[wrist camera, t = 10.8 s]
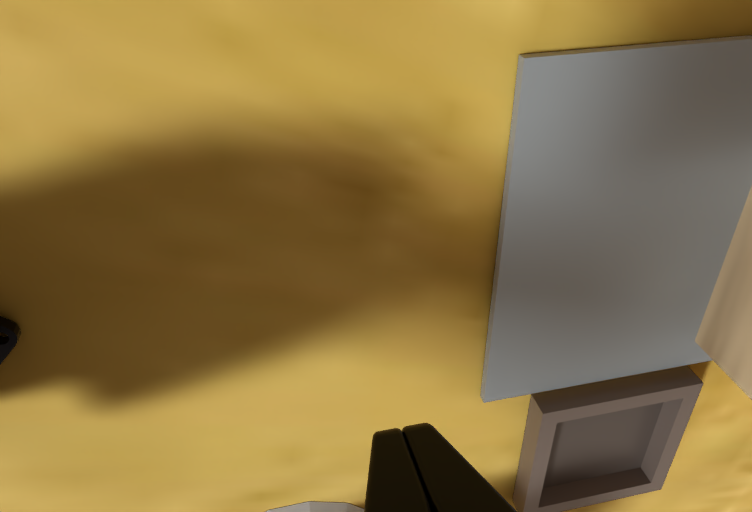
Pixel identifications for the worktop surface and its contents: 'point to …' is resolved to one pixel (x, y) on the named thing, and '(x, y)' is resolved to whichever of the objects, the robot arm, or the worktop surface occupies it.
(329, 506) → the french press
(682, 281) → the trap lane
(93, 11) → the worktop surface
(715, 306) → the oak block
